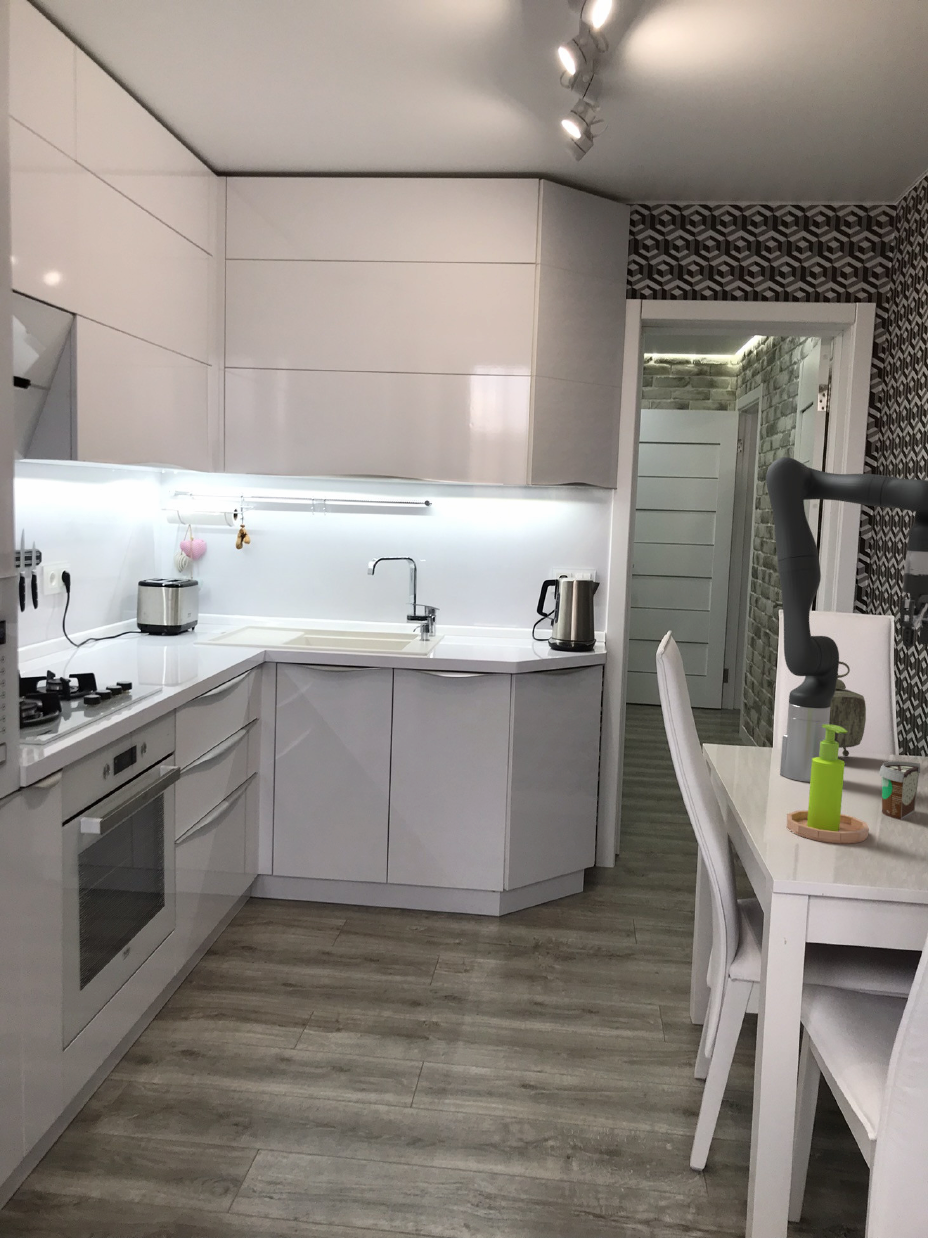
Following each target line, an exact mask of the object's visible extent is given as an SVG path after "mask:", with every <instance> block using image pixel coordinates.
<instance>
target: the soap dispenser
mask: <svg viewBox="0 0 928 1238" xmlns="http://www.w3.org/2000/svg"><path fill="white" fill-rule="evenodd" d="M822 728H826V735H825V740H823V741H821V742H820V752H819V757H815V758H812V766H811V779H810V782H809V796H808V808H807V810H808V819H807V826H808V827H812V828H816V829H819V830H828V831H838V830H839V827H840V814H842V813H841V811H842V798H843V788H844V787H843V786H844V775H845V761H844V760H841V759H839V750H840V748H839V743H837V742H836V741H835V732H837V733H847V732H848V731H846V730H845V729H844V728H842V727H840V726H837V725H831V724H824V725H822Z"/></svg>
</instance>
